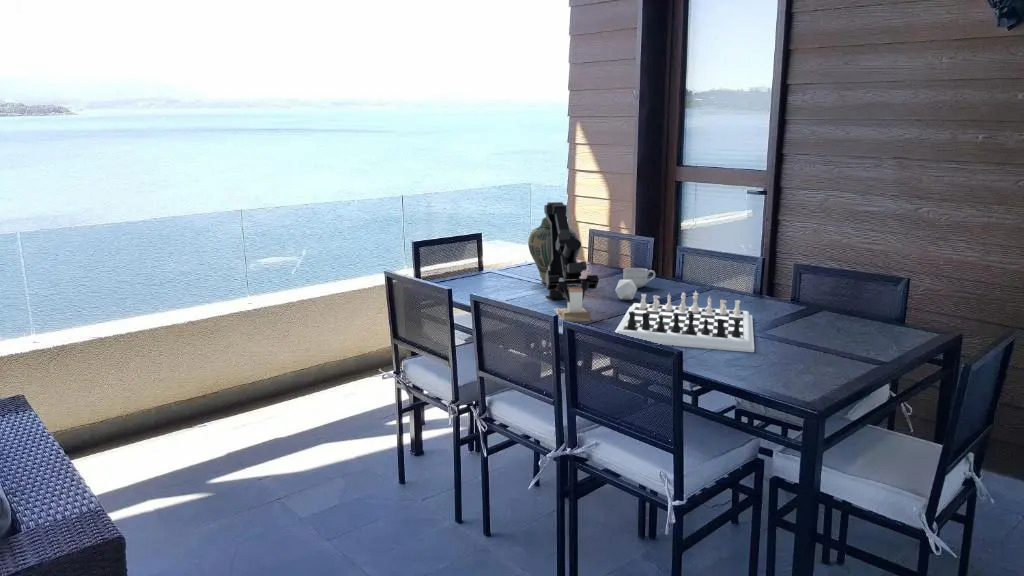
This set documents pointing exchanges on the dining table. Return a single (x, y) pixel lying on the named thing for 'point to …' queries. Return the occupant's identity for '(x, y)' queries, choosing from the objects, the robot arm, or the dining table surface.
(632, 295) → the die
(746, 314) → the chess set
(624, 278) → the teacup
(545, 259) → the vase
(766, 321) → the dining table surface
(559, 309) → the tray
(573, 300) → the block
